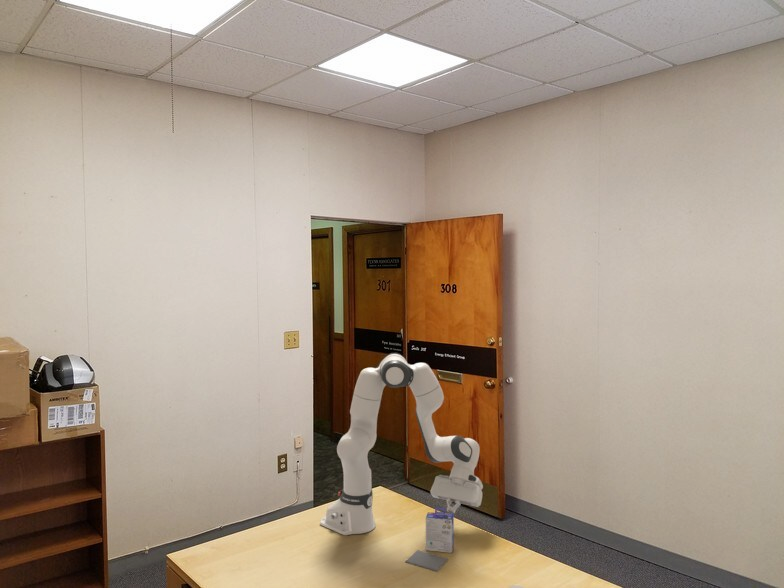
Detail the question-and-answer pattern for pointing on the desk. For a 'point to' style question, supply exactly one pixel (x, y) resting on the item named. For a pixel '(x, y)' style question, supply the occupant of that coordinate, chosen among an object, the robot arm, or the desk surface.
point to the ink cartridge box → (439, 531)
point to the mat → (427, 560)
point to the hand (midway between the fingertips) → (450, 512)
